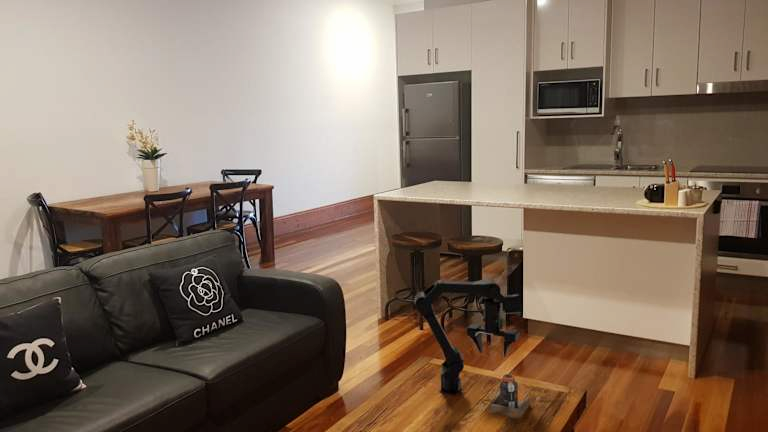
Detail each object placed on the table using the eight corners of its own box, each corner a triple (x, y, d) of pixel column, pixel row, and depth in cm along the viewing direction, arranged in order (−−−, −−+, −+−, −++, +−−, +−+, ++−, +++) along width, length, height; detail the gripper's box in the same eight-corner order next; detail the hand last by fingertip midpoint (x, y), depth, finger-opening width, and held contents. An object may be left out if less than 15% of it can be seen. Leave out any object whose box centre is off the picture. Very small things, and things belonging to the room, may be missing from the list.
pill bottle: (518, 411, 202) (517, 380, 200) (500, 410, 203) (499, 379, 201) (517, 403, 207) (517, 372, 205) (500, 402, 208) (499, 372, 207)
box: (488, 412, 203) (488, 404, 202) (499, 398, 212) (498, 390, 212) (520, 419, 197) (520, 410, 197) (529, 404, 207) (529, 396, 206)
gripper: (523, 310, 218) (524, 350, 221) (476, 304, 227) (477, 343, 230) (514, 320, 208) (515, 362, 211) (464, 313, 218) (466, 354, 220)
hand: (493, 354), depth 218 cm, fingers open, 9 cm apart
